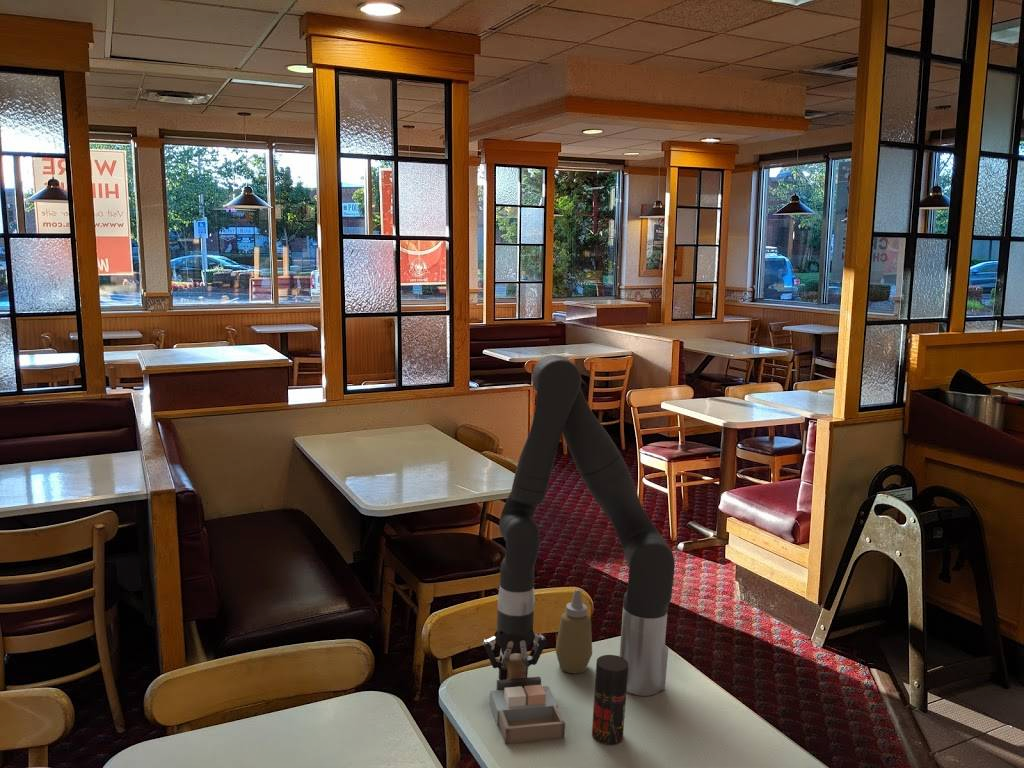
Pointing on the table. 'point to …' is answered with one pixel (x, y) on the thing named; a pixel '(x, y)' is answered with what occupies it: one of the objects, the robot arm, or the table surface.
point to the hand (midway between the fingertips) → (512, 682)
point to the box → (532, 728)
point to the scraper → (516, 674)
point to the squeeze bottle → (574, 637)
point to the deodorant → (609, 699)
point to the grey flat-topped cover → (521, 707)
